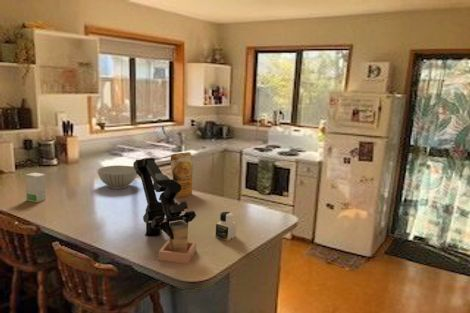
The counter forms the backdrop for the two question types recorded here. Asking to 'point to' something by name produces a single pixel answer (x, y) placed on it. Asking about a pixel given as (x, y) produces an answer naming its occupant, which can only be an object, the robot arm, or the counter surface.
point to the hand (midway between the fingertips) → (180, 237)
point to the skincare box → (35, 187)
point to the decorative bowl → (117, 176)
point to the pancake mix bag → (182, 172)
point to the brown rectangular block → (179, 236)
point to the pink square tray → (177, 253)
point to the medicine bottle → (226, 226)
